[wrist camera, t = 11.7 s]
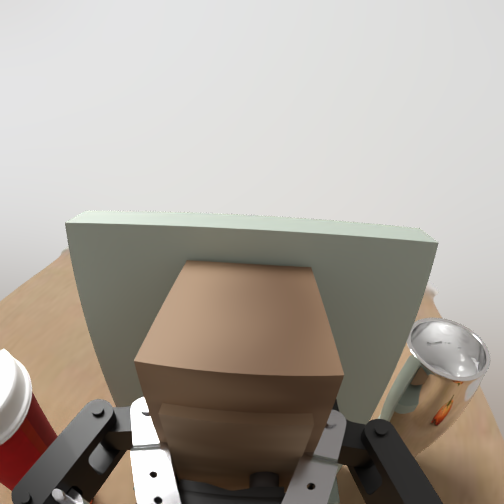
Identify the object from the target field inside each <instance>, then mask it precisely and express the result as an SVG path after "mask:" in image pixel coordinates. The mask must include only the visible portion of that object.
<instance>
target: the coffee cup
mask: <svg viewBox="0 0 504 504" xmlns="http://www.w3.org/2000/svg"><path fill="white" fill-rule="evenodd" d="M57 437H58V436H57V435H56V433H55V432H54V430H53V428H52V427H51V425H50V423H49V422H48V420H47V418H46V416H45V415H44V413H43V411H42V409H41V408H40V406H39V404H38V402H37V400H36V398H35V396H34V394H33V392H32V384H31V379H30V376H29V374H28V372H27V370H26V369H25V367H24V366H23V365H22V364H21V363H20V362H19V361H17V360H16V359H15V358H13V357H12V356H11V354H10V353H9V352H8V351H6V350H5V349H4V348H3V349H2V350H0V483H2V484H3V485H5V486H6V487H7V488H9V489H10V490H11V491H13V489H14V487H15V486H16V485H17V484H18V482H19V481H20V480H21V479H22V478H23V477H24V475H25V474H26V473H27V472H28V471H29V470H30V468H31V467H32V466H33V465H34V464H35V463H36V461H37V460H38V459H39V458H40V457H41V456H42V454H43V453H44V452H45V451H46V450H47V449H48V447H49V446H50V445H51V444H52V443H53V442H54V441H55V439H56V438H57ZM92 500H93V499H92ZM92 500H91V502H90V504H92Z"/></svg>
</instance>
